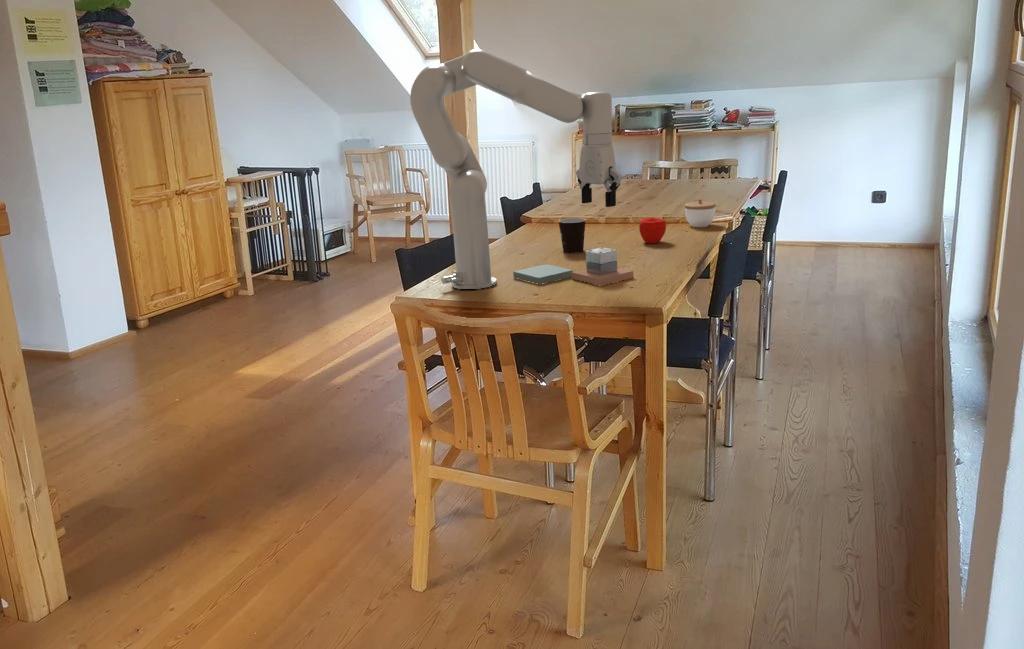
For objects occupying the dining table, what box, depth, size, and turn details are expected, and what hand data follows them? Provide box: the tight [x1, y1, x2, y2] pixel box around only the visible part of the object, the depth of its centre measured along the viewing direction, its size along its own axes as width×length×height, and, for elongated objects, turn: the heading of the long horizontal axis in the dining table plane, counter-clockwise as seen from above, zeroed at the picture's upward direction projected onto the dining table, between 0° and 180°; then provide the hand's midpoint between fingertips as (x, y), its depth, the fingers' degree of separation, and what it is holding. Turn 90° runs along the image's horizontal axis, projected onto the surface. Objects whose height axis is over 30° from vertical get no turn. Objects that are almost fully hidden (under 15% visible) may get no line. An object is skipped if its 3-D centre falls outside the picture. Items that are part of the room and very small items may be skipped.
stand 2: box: [571, 267, 634, 287], centre depth 238 cm, size 12×12×2 cm
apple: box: [638, 217, 667, 244], centre depth 281 cm, size 9×9×8 cm
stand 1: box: [512, 263, 574, 285], centre depth 244 cm, size 12×12×2 cm
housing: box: [585, 246, 618, 275], centre depth 237 cm, size 6×6×6 cm
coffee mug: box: [558, 217, 586, 254], centre depth 277 cm, size 12×9×10 cm
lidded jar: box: [684, 198, 717, 228], centre depth 304 cm, size 11×11×9 cm
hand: (598, 204), depth 233 cm, fingers open, 9 cm apart
